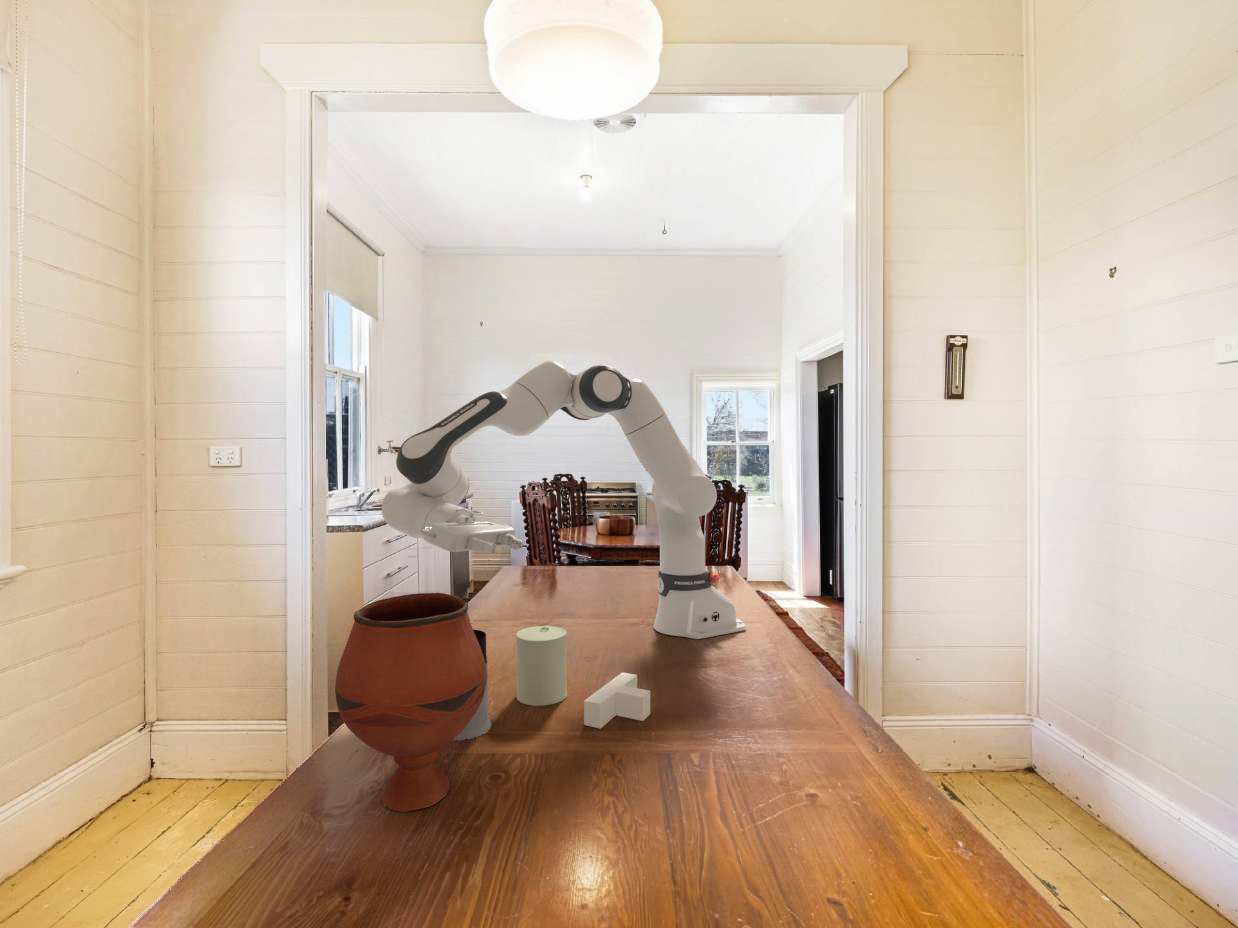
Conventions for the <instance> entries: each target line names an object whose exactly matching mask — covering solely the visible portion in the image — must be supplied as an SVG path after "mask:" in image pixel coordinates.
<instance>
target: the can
mask: <svg viewBox="0 0 1238 928" xmlns="http://www.w3.org/2000/svg"><path fill="white" fill-rule="evenodd" d="M515 639H516V676H517V677H516V684H517V685H516V699H517V701H518V702H520V703H521V704H524V705H527V706H531V707H534V706H535V707H544V706H545V707H546V706H551V705H555V704H557V703H560V702H562V701H564V700H565V699H566V698H567V697H568V691H567V688H568V687H567V630H565V629H564V628H562V627H559V626H553V625H537V626H536V625H534V626H529V627H525V628H523V629H520V630H518V631H517V632H516V634H515Z"/></svg>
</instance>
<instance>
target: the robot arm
mask: <svg viewBox="0 0 1238 928" xmlns="http://www.w3.org/2000/svg"><path fill="white" fill-rule="evenodd" d="M559 410H560V411H563V412H564V413H566V414H567V415H568V416H570V417H571V418H573V419H576V420H578V421H579V420H580V421H589V420H592V419H597V418H600V417H602V416H604V415H606V414H608V415H610V416H612V417H613V418H614V419H615V420H616V421H617V423H618V424H619V426H620V428H621V430H622V431H623V433H624V436H625V437H626V440H627V441H628V443H629V445H630V447H631V448H632V450H633V453H634V454H635V455H636V457H637V459H638V460H639V462H640V464H641V466H642V467H644V468H645V470H646V472H648V474H649V475H650V477H651V478H652V479H653V483H652V487H651V493H652V497H653V499H654V500H653V501H654V507H655V515H656V521H657V527H658V528H657V529H658V533H659V536H658V537H659V570H658V575H657V576H658V577H657V590H658V604H657V612H656V615H655V620H654V624H653V629H654V630H655V631H656V632H659V633H660V634H664V635H669V636H672V637H673V636H676V637H684V638H689V639H693V640H701V639H707V638H712V637H716V636H721V635H727V634H733V633H737V632H743V631H746V623H745V622H744V621H742V619H740V618H738V617H737V614H736V609H735V605H734V603H733V601H732V600H731V599H730V598H729V597H727V596H726V595H725V594H723V593H722V592H721V591H719V590H718V589H717V588H716V587H715V586H713V584H712V583H719V581H720V579H721V577H720V576H719V574H716V573H715V572H713V573H710V572H709V571H708V570H707V569H706V538H705V535H704V533H703V531H702V530H703V529H702V527H701V520H700V517H703V516H705V515H707V514H709V513H710V512H711V510H713V508H714V507H715V506H716V502H717V498H718V495H717V494H718V492H717V488H716V486H715V484H714V483H713V481H711V479H710V478H709V477H708V476H707V475H706V474H705V472H704V471H703V470H702V468H701V466H700V465H699V464H698V462H697V461H696V460H695V458H694V457H693V455H692V454H691V453H690V452H689V450H688V449H687V447H686V446H685V445H684V443H683V442H682V440H681V439H680V437H679V435H678V434H677V433H678V432H677V431H676V429H675V428H674V426H673V424H672V422H671V421H670V419H669V417H668V415H667V412H666V411H665V409H664V408H663V406H662V405H661V403H660V401H659V400H658V398H657V397H656V396H655V394H654V392H653V391H652V390H651V388H650V387H649V386H648V385H647V384H646V382H645V381H643V380H641V379H639V378H630V379H628V378H627V377H625V376H624V375H623V374H622V373H621V372H620V371H618V370H617V369H616V368H614V367H612V366H610V365H605V364H598V365H593V366H591V367H589V368H587V369H584V370H582V371H581V372H579V373H577V374H572V373H571V372H569V371H568V369H567V368H566V367H565V366H564V365H562V364H560V363H559V362H557V361H554V360H546V361H543V362H542V363H540V364H538V365H536V366H535V367H533V368H532V369H530V370H528V371H527V372H525V373H524V374H523V375H521V376H519V378H518V379H516V380H515V381H514V382H513V383H512V384H511V385H509V386H508V387H507V388H505V389H503V390H501V391H499V392H498V391H494V390H493V391H492V390H491V391H488V392H486V393H482V394H481V395H479V396H477V397H476V398H474V399H472V400H470V401H469V402H467V403H466V404H465V405H463V406H462V407H459V408H458V409H457V410H455V411H454V412H452V413H451V414H449V415H448V416H446V417H445V418H442V420H440V421H438V422H437V423H436V424H434V425H432V426H430V427H429V428H427V429H425V430H422V431H420V432H417V433H415V434H413V435H411V436H410V437H408V438H407V439H406V440H405V441H404V442H403V443H402V444H401V446H400V447H399V449H398V451H397V454H396V459H395V465H396V469H397V470H398V471H399V473H401V475H402V476H404V477H405V478H406V479H407V480H408V481H409V482H410V483H409V484H407V485H405V486H403V487H400V488H394V489H391V490H389V491H388V492H387V493H386V494H385V496H384V497H383V500H382V503H381V514H382V518H383V520H384V521H385V523H386V524H387V525H388V526H389V527H391V528H392V529H394V530H396V531H397V532H400V533H401V534H404V535H406V536H409V537H411V538H414V539H422V540H423V541H424V542H426V543H428V544H430V545H432V546H435V547H438V548H439V549H440V548H441V549H442V550H444V551H447V552H450V553H451V552H452V553H459V552H460V553H461V552H467V551H468V552H469V551H476V552H482V553H485V554H493V553H495V551H496V548H500V547H501V548H502V547H510V549H513V550H516V551H517V550H522V548H523V546H524V541H523V540H521V539H519V538H517V537H516V536H515V534H516V530H515V528H513V527H512V526H511V525H509V524H506V523H504V522H501V521H499V520H496V519H494V518H491V517H488V516H485V515H486V514H485V513H484V512H482V511H480V510H479V511H478V510H475V509H467V508H464V507H463V506H460V505H461V503H462V502H463V501H464V499H465V498H466V496H467V494H468V493H469V489H470V480H469V477H468V476H467V474H466V472H465V471H464V469H463V468H462V467H461V465H460V464H459V463H458V462H457V460H456V459H455V458H454V457H453V454H452V451H453V449H454V448H455V447H457V445H459V444H461V443H462V442H463V441H465V440H466V439H468V438H469V437H471V436H472V435H473V434H475V433H476V432H478V431H480V430H481V429H483V428H486V427H492V426H493V427H496V428H498V429H500V430H502V431H504V432H505V433H507V434H510V435H512V436H522V437H523V436H527V435H528V436H529V435H530V434H532V433H534V432H535V431H537V430H539V428H541V427H542V426H543V425H544V424H545V423H546V422H547V421H548V420H549V419H550V418H551V417H552V416H553V415H554V414H555V413H556V412H558V411H559Z"/></svg>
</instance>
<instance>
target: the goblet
mask: <svg viewBox="0 0 1238 928" xmlns="http://www.w3.org/2000/svg"><path fill="white" fill-rule="evenodd" d="M468 610H469V603H468V602H467V601H465V600H464V599H463V598H461V597H459V596H457V595H452V594H450V593H449V594H447V593H444V592H430V593H429V592H426V593H425V592H424V593H421V592H419V593H410V594H409V593H408V594H403V595H399V596H398V595H397V596H391V597H387V598H383V599H379V600H376V601H373V602H369V604H366V605H365V606H363V607H361V608H360V609H358V610H357V611H355V612H354V614H353V620H354V621H353V624H352V627H351V630H350V633H349V636H348V638H347V641H346V644H345V647H344V649H343V652H342V654H341V657H340V660H339V664H338V667H337V672H336V677H335V683H334V692H335V700H336V706H337V710H338V713H339V715H340V717H341V720H342V722H343V723H344V725H345V726H346V728H347V729H348V730H349V731H350V732H351V733H352V734H354V736H356V737H357V738H358V739H359V740H360V741H362V742H363V743H364V744H365V745H367V746H368V747H370V748H372V749H373V750H376V751H378V752H380V753H382V754H385V755H388V756H392V757H393V758H392V759H393V761H394V763H395V764H396V765H398V766H397V768H396V769H395V772H394V773H393V774H392V775H391V777H390V778H388V780H387V782H386V783H385V784H384V786H383V789H382V792H381V795H380V796H381V797H380V798H381V801H382V803H383V807H386V808H387V809H389V810H391V811H394V812H402V813H403V812H405V813H406V812H411V811H416V810H422V809H425V808H429V807H433V806H434V805H436V804H437V803H439V802H440V801H442V800H443V799H444V798H445V797H447V794H448V792H449V790H450V785H451V784H450V781H449V779H448V777H447V776H446V774H445V773H444V772H443V771H442V770H441V769H440V767H438V766H437V765H436V764H435V761H436V760H437V759H438V758H439V757H440V755H441V748H443V747H445V746H446V745H447V744H449V743H450V742H451V741H453V739H454V738H455V737H456V736H457V735H458V734H459V733H460V732H461V731H462V730H463V729H464V728H465V727H466V726H467V724H468V723H469V722H470V720H471V719H472V718H473V716H474V715H475V713H476V712H477V710H478V708H479V706H480V704H481V702H482V699H483V696H484V692H485V688H486V682H487V668H486V664H485V660H484V656H483V653H482V650H481V648H480V645H479V642H478V640H477V638H476V636H475V634H474V631H473V629H474V628H473V626H472V623H471V620H470V616H469V613H468ZM443 797H444V798H443ZM441 799H442V800H441Z"/></svg>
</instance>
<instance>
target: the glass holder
mask: <svg viewBox="0 0 1238 928" xmlns="http://www.w3.org/2000/svg"><path fill="white" fill-rule="evenodd" d="M473 631H474V634H475V636H476V638H477V640H478V642H479V645H480V648H481V650H482V653H483V656H484V660H485V664H486V668H487V682H486V688H485V692H484V696H483V699H482V702H481V704H480V706H479V708H478V710H477V712H476V713H475V715H474V716H473V718H472V719H471V720H470V722H469V723H468V724H467V726H466V727H465V728H464V729H463V730H462V731H461V732H460V733H459V734H458V735H457V736H456V737H455V738H454V739H453V740H452V741H454V740H455V741H456V740H458V741H466V740H465V739H468V740H472V739H475V738H474V737H476V738H478V736H479V737H481V736H483V735H484V734H486V733H488V732H489V731H490V729H491V727H492V722H491V720H490V719H489V689H488V688H489V686H488V682H489V681H488V678H489V677H488V676H489V674H488V670H489V667H488V666H489V665H488V664H489V663H488V656H487V634H486V632H485V631H483V630H480V629H474V628H473ZM488 730H489V731H488ZM482 734H483V735H482Z"/></svg>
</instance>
